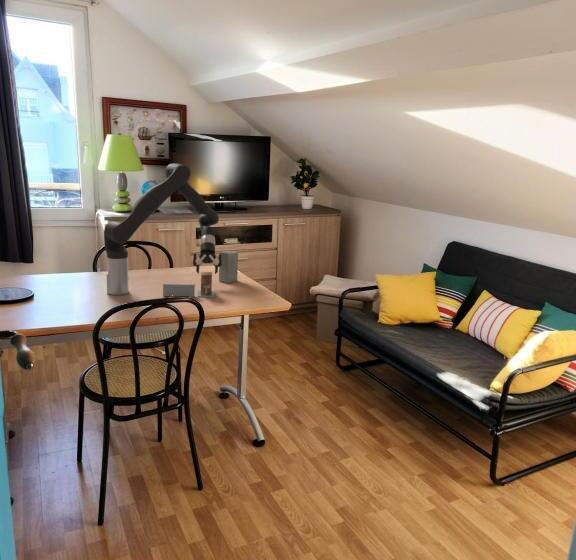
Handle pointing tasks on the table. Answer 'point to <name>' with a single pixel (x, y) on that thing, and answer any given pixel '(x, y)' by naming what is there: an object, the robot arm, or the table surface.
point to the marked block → (206, 283)
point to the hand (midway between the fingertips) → (207, 273)
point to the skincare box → (228, 266)
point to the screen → (179, 290)
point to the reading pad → (206, 295)
